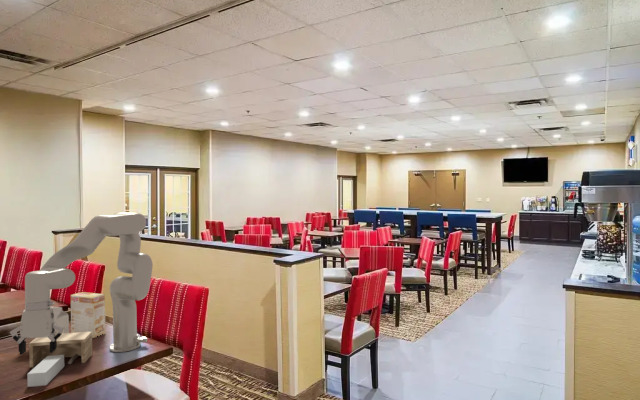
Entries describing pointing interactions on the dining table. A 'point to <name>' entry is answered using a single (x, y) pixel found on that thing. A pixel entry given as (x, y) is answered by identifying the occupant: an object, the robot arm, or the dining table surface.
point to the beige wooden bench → (62, 347)
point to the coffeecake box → (88, 313)
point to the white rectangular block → (45, 370)
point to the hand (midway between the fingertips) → (37, 352)
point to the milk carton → (61, 319)
